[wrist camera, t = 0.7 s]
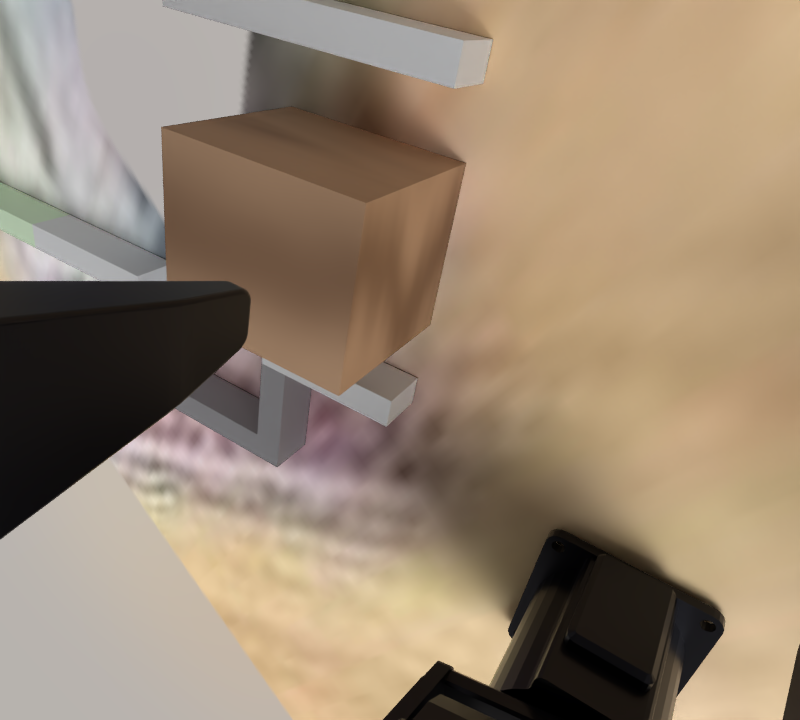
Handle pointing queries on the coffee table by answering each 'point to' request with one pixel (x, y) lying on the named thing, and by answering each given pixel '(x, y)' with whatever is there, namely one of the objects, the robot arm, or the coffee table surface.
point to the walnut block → (311, 234)
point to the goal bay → (23, 213)
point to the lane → (332, 33)
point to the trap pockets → (255, 414)
